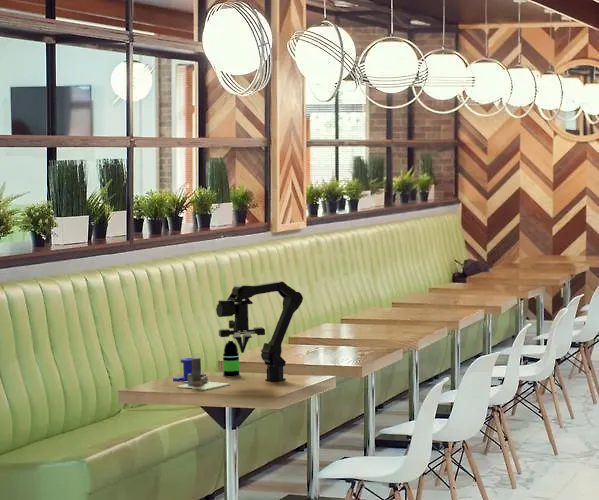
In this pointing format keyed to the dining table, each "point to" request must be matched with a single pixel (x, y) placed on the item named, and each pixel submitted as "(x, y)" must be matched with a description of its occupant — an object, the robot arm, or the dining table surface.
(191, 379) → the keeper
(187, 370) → the mount
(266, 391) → the dining table surface
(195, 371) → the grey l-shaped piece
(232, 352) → the bottle
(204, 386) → the plate
